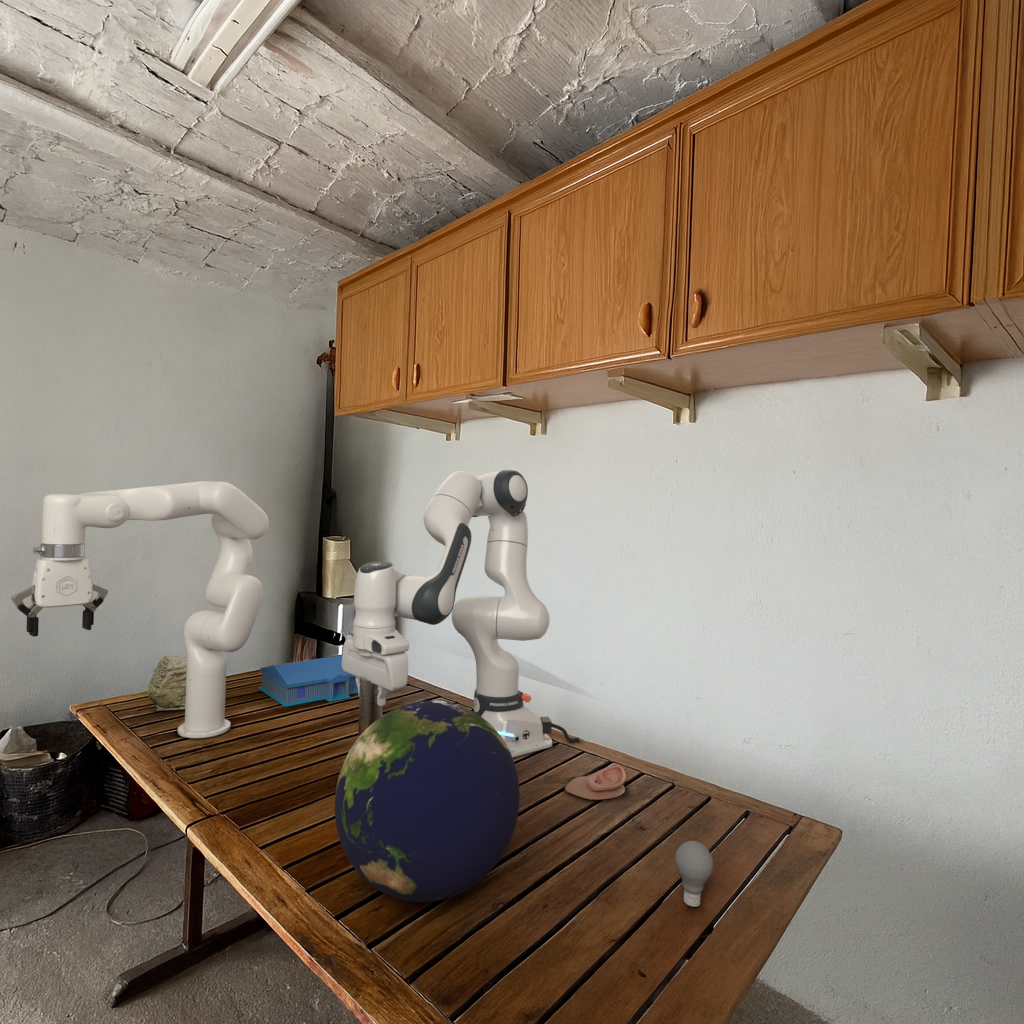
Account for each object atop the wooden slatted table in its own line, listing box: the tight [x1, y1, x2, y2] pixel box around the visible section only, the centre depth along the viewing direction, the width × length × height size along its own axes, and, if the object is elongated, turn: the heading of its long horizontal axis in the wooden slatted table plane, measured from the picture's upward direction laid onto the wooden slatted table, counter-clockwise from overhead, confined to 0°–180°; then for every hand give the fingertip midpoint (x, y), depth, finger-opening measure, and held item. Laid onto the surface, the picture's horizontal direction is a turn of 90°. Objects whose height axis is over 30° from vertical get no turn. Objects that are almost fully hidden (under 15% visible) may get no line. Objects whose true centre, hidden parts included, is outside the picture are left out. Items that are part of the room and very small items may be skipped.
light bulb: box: [674, 840, 714, 907], centre depth 103 cm, size 6×6×10 cm
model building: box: [258, 654, 359, 707], centre depth 208 cm, size 39×24×10 cm, turn 132°
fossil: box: [147, 654, 187, 712], centre depth 185 cm, size 9×18×15 cm, turn 132°
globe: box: [334, 700, 521, 903], centre depth 104 cm, size 30×30×30 cm
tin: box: [357, 676, 384, 737], centre depth 137 cm, size 5×5×12 cm
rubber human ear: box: [564, 765, 627, 801], centre depth 143 cm, size 13×4×12 cm
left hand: (60, 632), depth 135 cm, fingers open, 9 cm apart
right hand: (371, 701), depth 137 cm, fingers closed on tin, 5 cm apart
